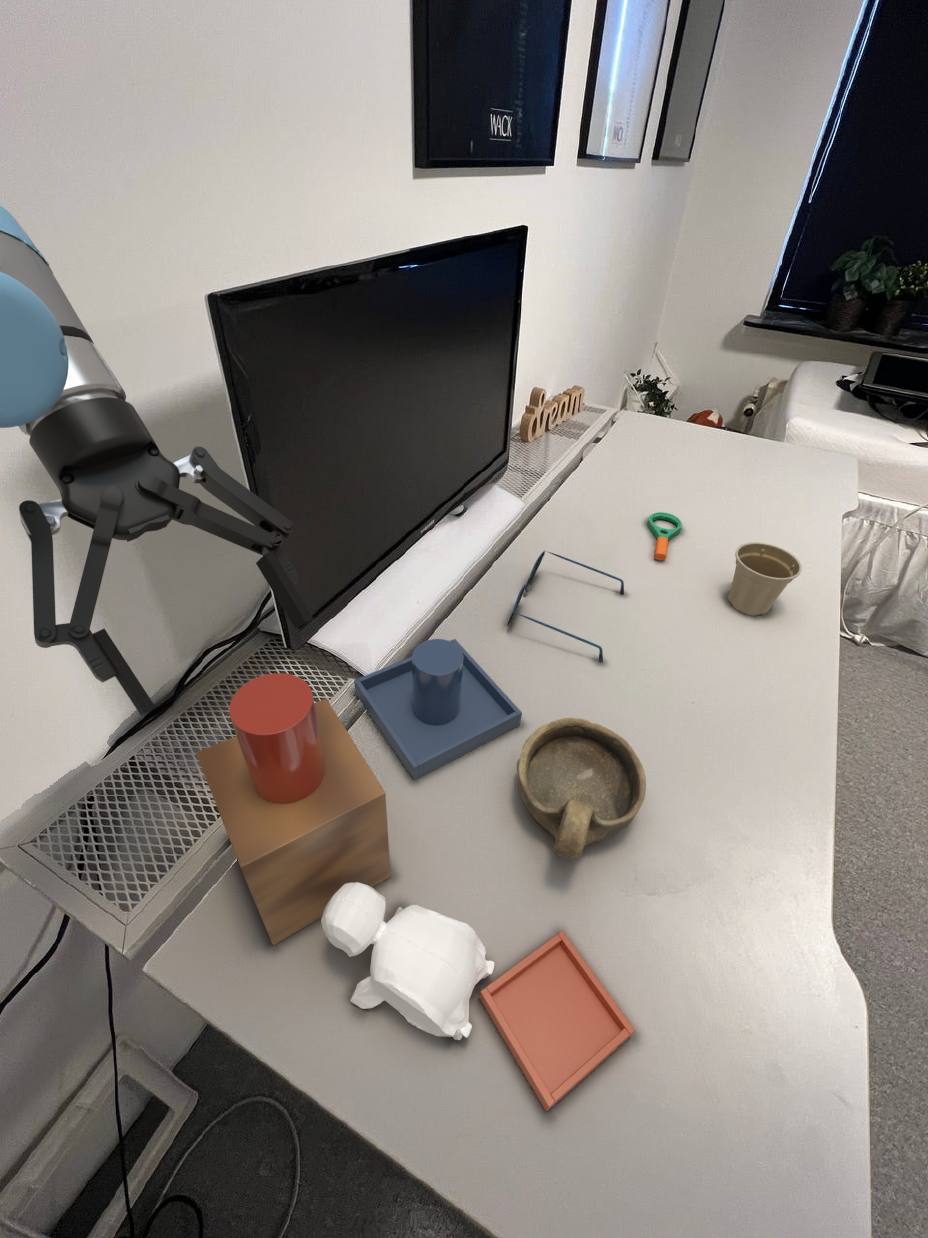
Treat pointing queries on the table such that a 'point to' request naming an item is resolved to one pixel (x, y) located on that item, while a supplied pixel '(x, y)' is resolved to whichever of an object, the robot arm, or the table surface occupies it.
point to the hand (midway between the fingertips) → (233, 664)
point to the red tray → (555, 1018)
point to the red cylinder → (279, 736)
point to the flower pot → (761, 576)
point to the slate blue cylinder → (436, 681)
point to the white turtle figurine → (409, 959)
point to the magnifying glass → (663, 532)
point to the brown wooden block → (303, 829)
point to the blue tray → (435, 744)
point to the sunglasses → (549, 625)
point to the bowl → (580, 783)
